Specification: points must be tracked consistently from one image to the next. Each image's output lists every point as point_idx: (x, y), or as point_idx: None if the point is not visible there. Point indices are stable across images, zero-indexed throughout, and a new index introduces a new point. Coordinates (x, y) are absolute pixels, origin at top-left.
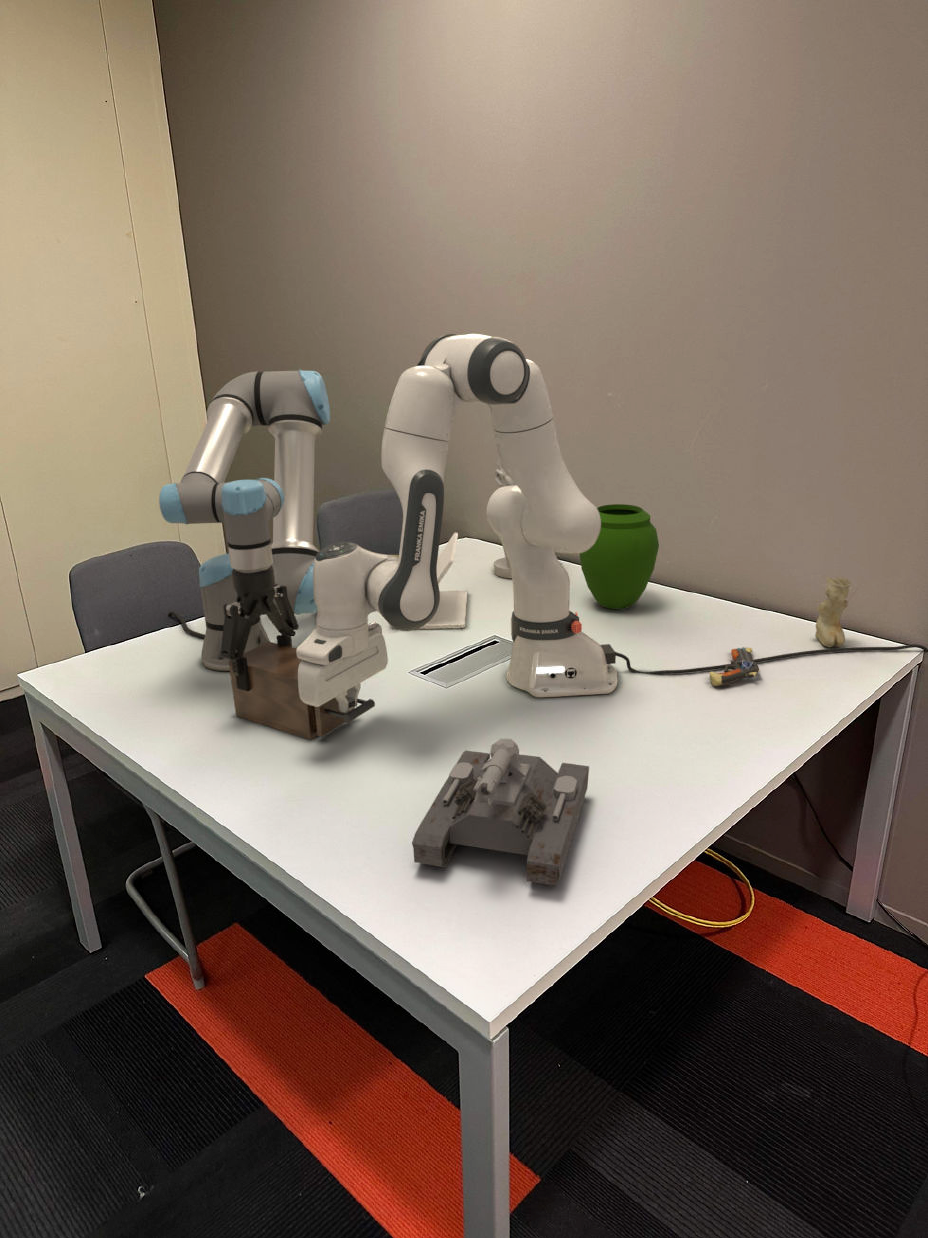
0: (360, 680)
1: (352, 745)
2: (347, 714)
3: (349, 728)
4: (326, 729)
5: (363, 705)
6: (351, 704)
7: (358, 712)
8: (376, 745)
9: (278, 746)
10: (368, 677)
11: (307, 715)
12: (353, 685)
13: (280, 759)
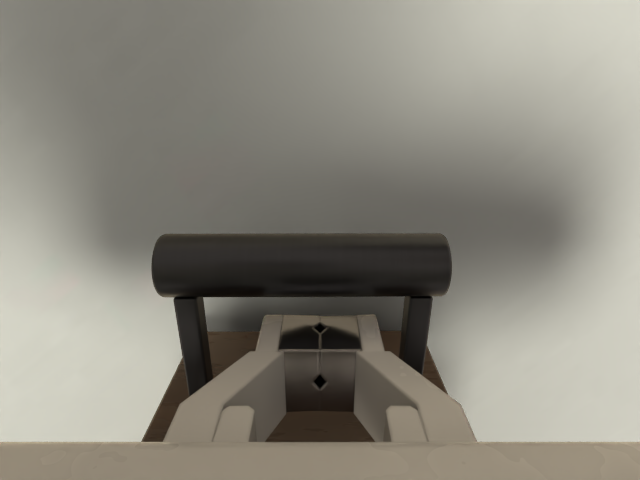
0: (188, 469)
1: (384, 194)
2: (446, 273)
3: (267, 299)
4: (394, 344)
5: (265, 266)
6: (324, 333)
7: (349, 242)
8: (330, 90)
9: (508, 416)
10: (26, 449)
11: None
12: (337, 456)
13: (591, 357)
